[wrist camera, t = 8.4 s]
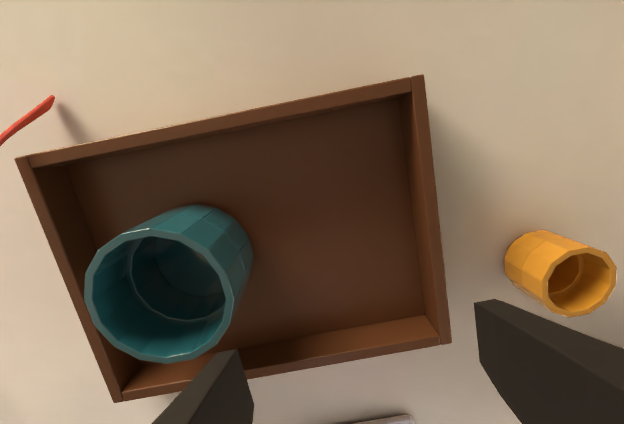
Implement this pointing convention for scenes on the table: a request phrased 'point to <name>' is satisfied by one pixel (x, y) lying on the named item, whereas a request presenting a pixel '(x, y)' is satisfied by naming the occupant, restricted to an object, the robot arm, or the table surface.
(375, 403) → the table surface
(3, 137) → the red eyeglasses
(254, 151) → the tray
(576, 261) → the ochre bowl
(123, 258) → the teal hollow cylinder
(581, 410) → the robot arm
